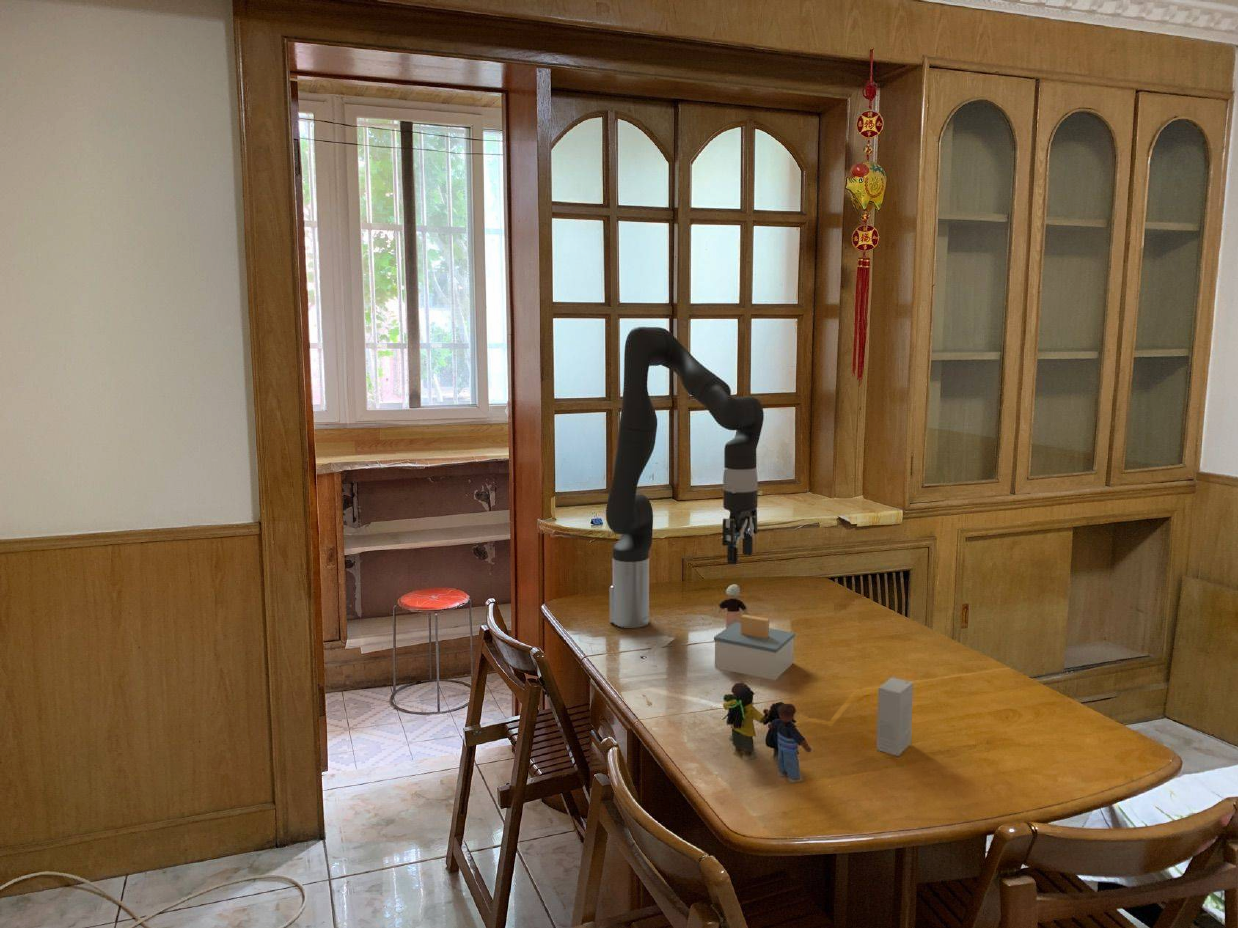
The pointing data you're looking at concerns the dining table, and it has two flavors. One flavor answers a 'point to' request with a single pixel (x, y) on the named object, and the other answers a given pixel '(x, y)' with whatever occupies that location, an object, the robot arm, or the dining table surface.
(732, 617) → the grandmother figurine
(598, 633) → the dining table surface
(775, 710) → the doll family
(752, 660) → the small white cabinet
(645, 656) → the mat
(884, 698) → the skincare box
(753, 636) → the lid
